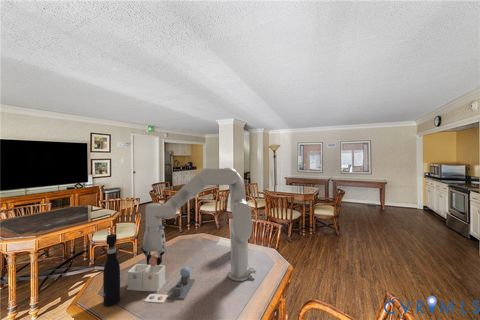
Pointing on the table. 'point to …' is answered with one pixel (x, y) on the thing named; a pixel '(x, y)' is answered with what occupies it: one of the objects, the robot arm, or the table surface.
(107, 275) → the wine bottle
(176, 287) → the ball stand
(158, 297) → the card
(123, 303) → the table surface
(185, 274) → the slate ball
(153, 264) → the terracotta ball
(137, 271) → the two-slot cubby shelf
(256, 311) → the table surface
